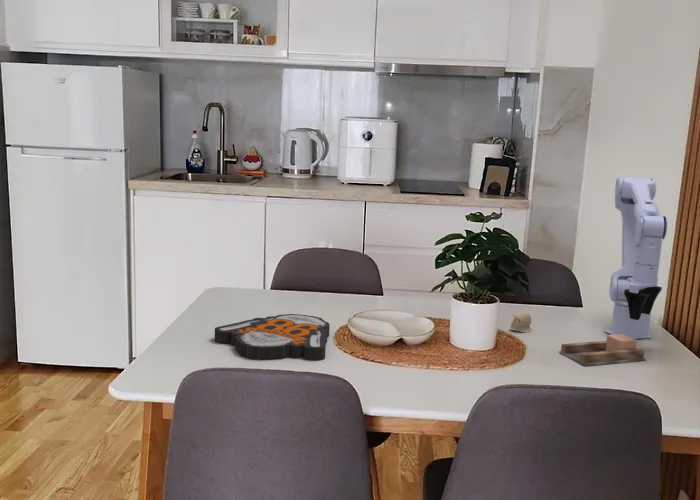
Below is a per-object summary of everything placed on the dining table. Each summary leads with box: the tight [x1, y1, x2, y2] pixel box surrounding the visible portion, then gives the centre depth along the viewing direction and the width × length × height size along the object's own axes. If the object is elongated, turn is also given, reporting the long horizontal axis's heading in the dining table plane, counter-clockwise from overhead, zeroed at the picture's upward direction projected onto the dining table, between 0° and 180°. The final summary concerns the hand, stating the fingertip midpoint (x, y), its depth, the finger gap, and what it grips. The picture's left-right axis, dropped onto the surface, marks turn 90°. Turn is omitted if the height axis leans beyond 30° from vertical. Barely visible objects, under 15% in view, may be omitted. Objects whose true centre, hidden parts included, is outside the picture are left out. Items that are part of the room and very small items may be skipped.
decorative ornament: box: [508, 311, 532, 333], centre depth 195 cm, size 4×8×5 cm, turn 129°
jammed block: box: [605, 334, 638, 351], centre depth 177 cm, size 5×5×4 cm
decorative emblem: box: [214, 313, 330, 362], centre depth 176 cm, size 29×3×30 cm
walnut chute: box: [558, 340, 647, 368], centre depth 175 cm, size 18×10×2 cm, turn 110°
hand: (639, 316), depth 179 cm, fingers open, 7 cm apart
